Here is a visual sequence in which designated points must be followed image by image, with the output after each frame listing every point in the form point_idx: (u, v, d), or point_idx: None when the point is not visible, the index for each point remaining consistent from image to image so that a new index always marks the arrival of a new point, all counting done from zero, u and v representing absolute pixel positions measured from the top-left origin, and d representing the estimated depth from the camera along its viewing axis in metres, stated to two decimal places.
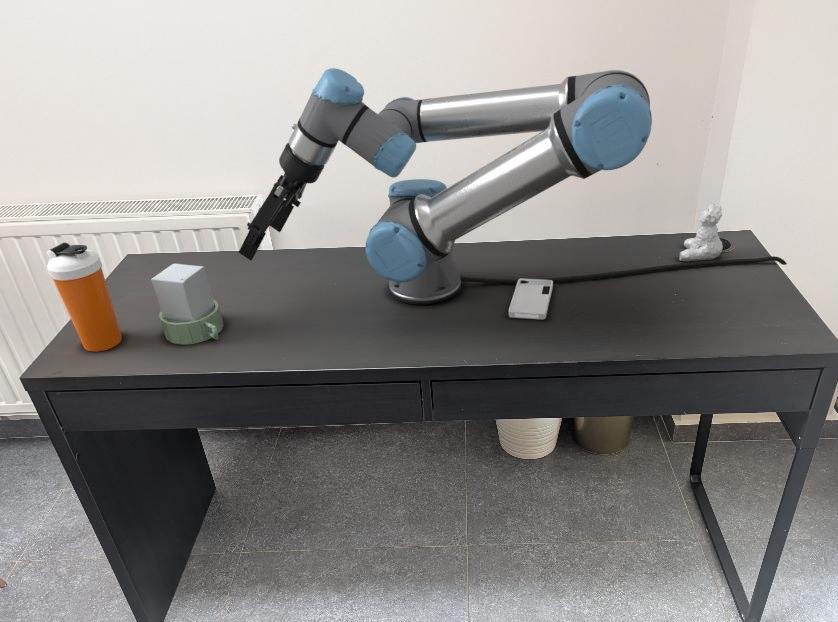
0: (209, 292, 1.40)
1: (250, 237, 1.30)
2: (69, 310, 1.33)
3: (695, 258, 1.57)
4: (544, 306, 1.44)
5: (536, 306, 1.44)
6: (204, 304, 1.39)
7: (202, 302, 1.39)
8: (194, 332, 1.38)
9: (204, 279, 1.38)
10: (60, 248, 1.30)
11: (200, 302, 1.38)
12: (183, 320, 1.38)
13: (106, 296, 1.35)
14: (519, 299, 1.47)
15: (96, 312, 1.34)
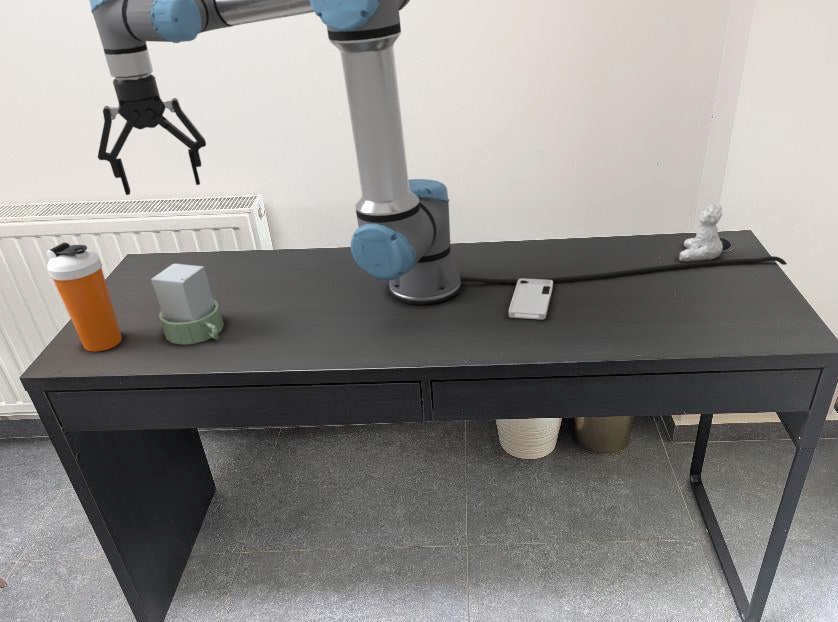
0: (209, 292, 1.40)
1: None
2: (69, 310, 1.33)
3: (695, 258, 1.57)
4: (544, 306, 1.44)
5: (536, 306, 1.44)
6: (204, 304, 1.39)
7: (202, 302, 1.39)
8: (194, 332, 1.38)
9: (204, 279, 1.38)
10: (60, 248, 1.30)
11: (200, 302, 1.38)
12: (183, 320, 1.38)
13: (106, 296, 1.35)
14: (519, 299, 1.47)
15: (96, 312, 1.34)
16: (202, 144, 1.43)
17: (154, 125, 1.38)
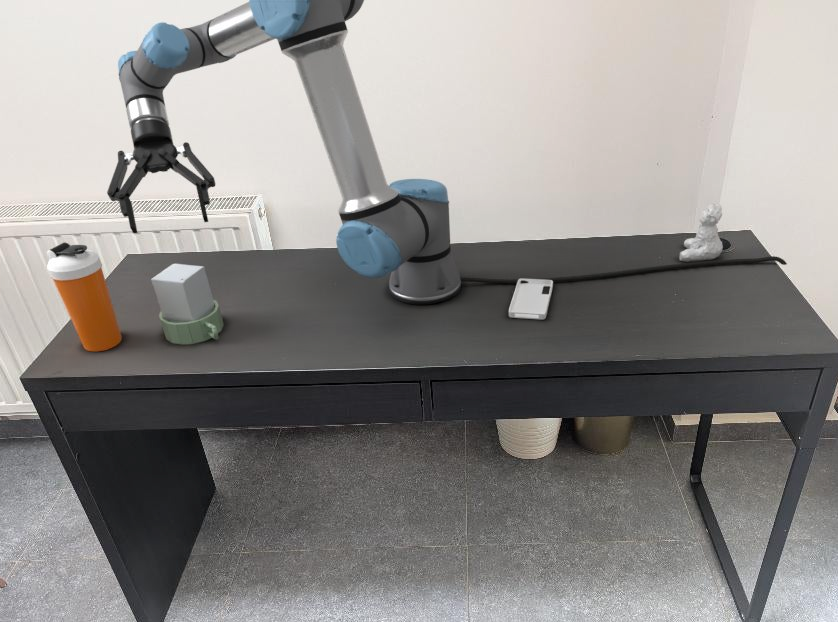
0: (209, 292, 1.40)
1: None
2: (69, 310, 1.33)
3: (695, 258, 1.57)
4: (544, 306, 1.44)
5: (536, 306, 1.44)
6: (204, 304, 1.39)
7: (202, 302, 1.39)
8: (194, 332, 1.38)
9: (204, 279, 1.38)
10: (60, 248, 1.30)
11: (200, 302, 1.38)
12: (183, 320, 1.38)
13: (106, 296, 1.35)
14: (519, 299, 1.47)
15: (96, 312, 1.34)
16: (210, 178, 1.44)
17: (165, 164, 1.43)
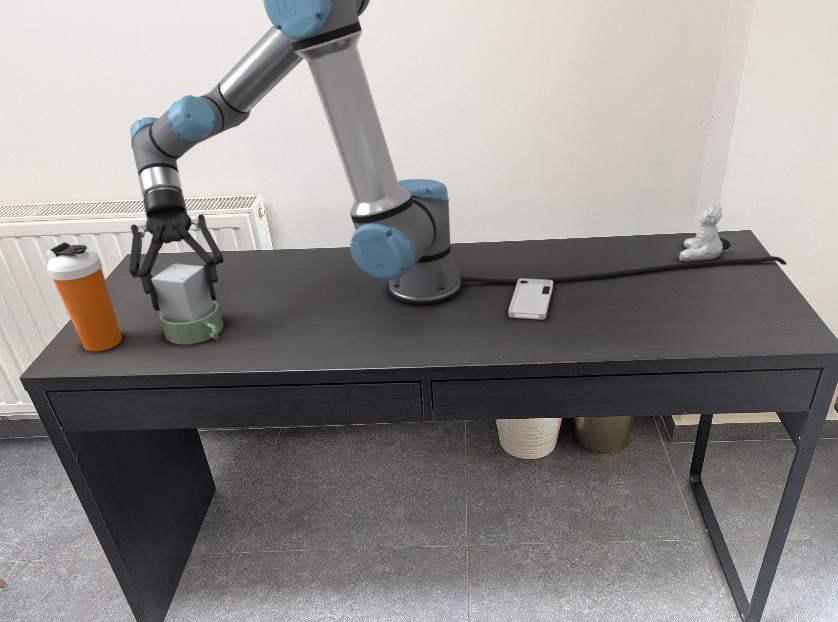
0: (209, 292, 1.40)
1: None
2: (69, 310, 1.33)
3: (695, 258, 1.57)
4: (544, 306, 1.44)
5: (536, 306, 1.44)
6: (204, 304, 1.39)
7: (202, 302, 1.39)
8: (194, 332, 1.38)
9: (204, 279, 1.38)
10: (60, 248, 1.30)
11: (200, 302, 1.38)
12: (183, 320, 1.38)
13: (106, 296, 1.35)
14: (519, 299, 1.47)
15: (96, 312, 1.34)
16: (218, 256, 1.39)
17: (179, 235, 1.38)
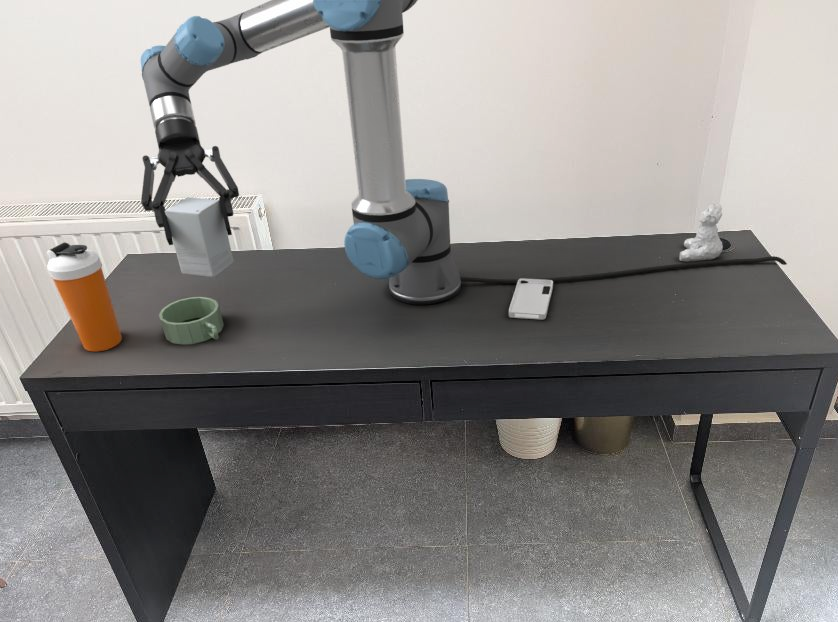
0: (224, 228, 1.35)
1: None
2: (69, 310, 1.33)
3: (695, 258, 1.57)
4: (544, 306, 1.44)
5: (536, 306, 1.44)
6: (219, 239, 1.34)
7: (217, 237, 1.33)
8: (194, 332, 1.38)
9: (219, 213, 1.33)
10: (60, 248, 1.30)
11: (215, 237, 1.33)
12: (197, 255, 1.32)
13: (106, 296, 1.35)
14: (519, 299, 1.47)
15: (96, 312, 1.34)
16: (233, 188, 1.33)
17: (192, 167, 1.33)
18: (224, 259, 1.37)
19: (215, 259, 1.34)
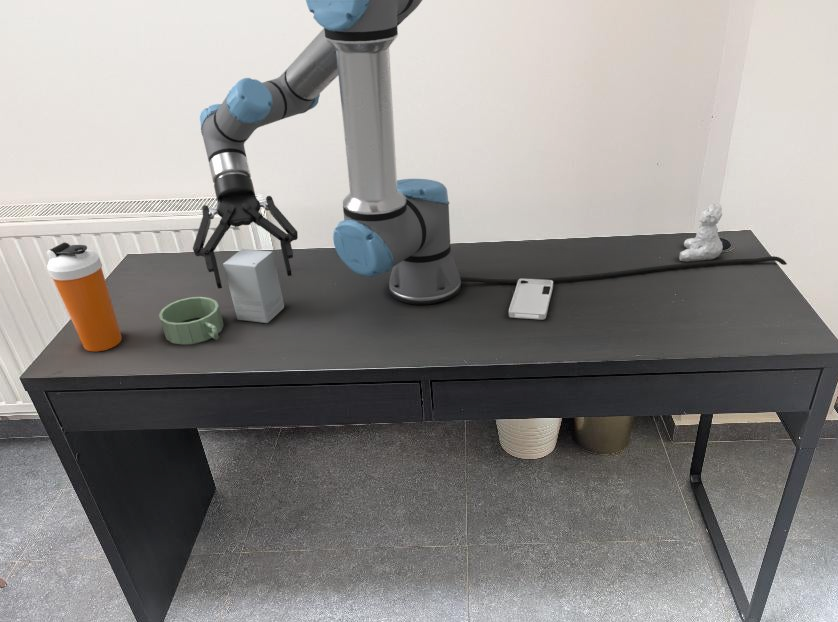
0: (276, 277, 1.45)
1: None
2: (69, 310, 1.33)
3: (695, 258, 1.57)
4: (544, 306, 1.44)
5: (536, 306, 1.44)
6: (272, 288, 1.44)
7: (270, 286, 1.43)
8: (194, 332, 1.38)
9: (272, 264, 1.43)
10: (60, 248, 1.30)
11: (269, 286, 1.43)
12: (252, 303, 1.42)
13: (106, 296, 1.35)
14: (519, 299, 1.47)
15: (96, 312, 1.34)
16: (294, 232, 1.43)
17: (249, 218, 1.42)
18: (276, 306, 1.46)
19: (269, 306, 1.44)
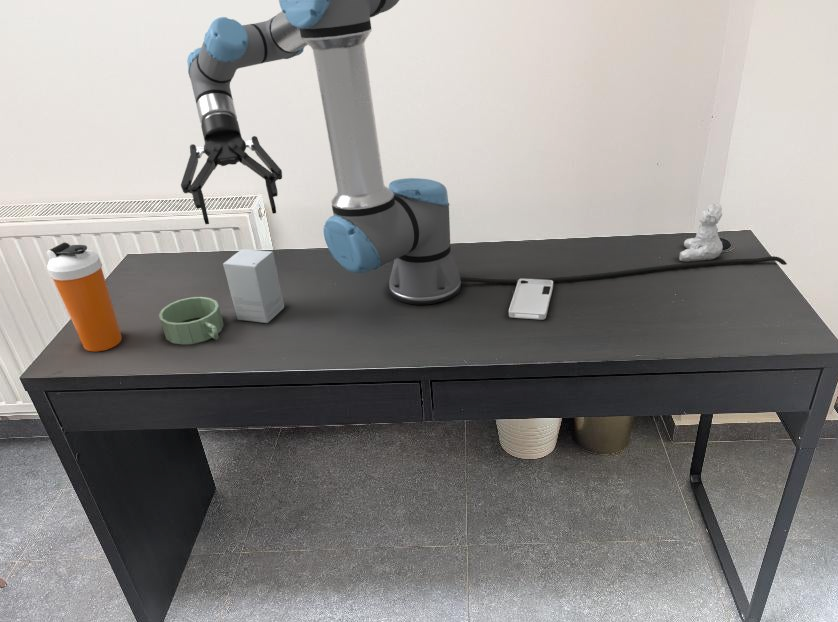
0: (276, 277, 1.45)
1: None
2: (69, 310, 1.33)
3: (695, 258, 1.57)
4: (544, 306, 1.44)
5: (536, 306, 1.44)
6: (272, 288, 1.44)
7: (270, 286, 1.43)
8: (194, 332, 1.38)
9: (272, 264, 1.43)
10: (60, 248, 1.30)
11: (269, 286, 1.43)
12: (252, 303, 1.42)
13: (106, 296, 1.35)
14: (519, 299, 1.47)
15: (96, 312, 1.34)
16: (278, 171, 1.49)
17: (235, 157, 1.48)
18: (276, 306, 1.46)
19: (269, 306, 1.44)
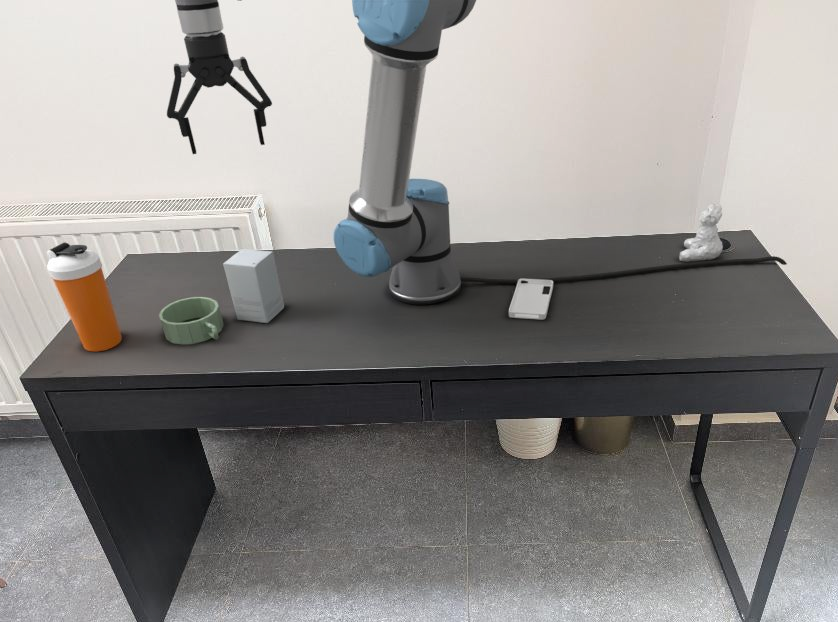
0: (276, 277, 1.45)
1: None
2: (69, 310, 1.33)
3: (695, 258, 1.57)
4: (544, 306, 1.44)
5: (536, 306, 1.44)
6: (272, 288, 1.44)
7: (270, 286, 1.43)
8: (194, 332, 1.38)
9: (272, 264, 1.43)
10: (60, 248, 1.30)
11: (269, 286, 1.43)
12: (252, 303, 1.42)
13: (106, 296, 1.35)
14: (519, 299, 1.47)
15: (96, 312, 1.34)
16: (268, 103, 1.44)
17: (222, 83, 1.39)
18: (276, 306, 1.46)
19: (269, 306, 1.44)
